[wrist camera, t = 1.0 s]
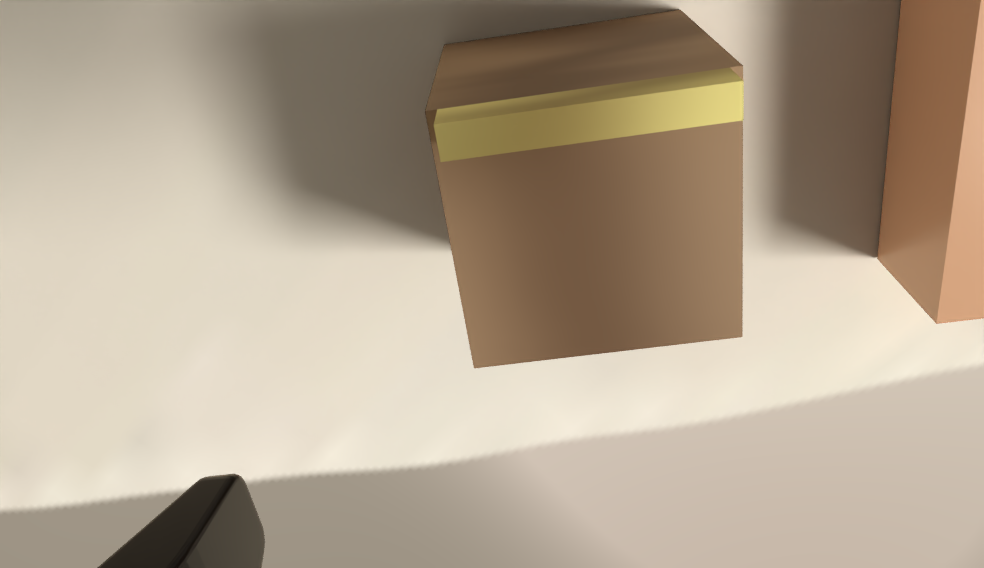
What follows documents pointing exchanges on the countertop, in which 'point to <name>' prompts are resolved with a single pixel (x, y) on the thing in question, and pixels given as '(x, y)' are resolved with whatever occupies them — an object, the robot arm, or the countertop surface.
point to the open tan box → (937, 159)
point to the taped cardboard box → (592, 187)
